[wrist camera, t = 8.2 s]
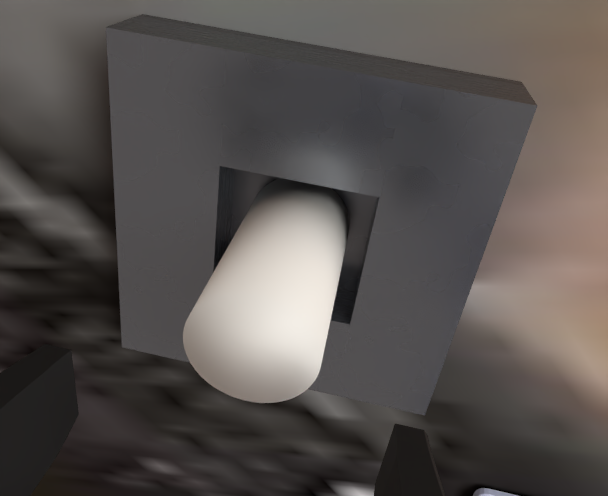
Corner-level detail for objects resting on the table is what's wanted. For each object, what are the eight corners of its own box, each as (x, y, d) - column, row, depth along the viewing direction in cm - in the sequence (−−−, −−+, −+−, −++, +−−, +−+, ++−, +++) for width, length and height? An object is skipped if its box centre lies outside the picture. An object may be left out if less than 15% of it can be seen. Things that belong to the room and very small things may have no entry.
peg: (358, 188, 19) (333, 312, 13) (339, 273, 21) (309, 416, 15) (256, 166, 19) (185, 278, 13) (246, 253, 21) (180, 384, 15)
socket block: (521, 82, 17) (537, 105, 15) (423, 369, 23) (424, 415, 21) (142, 14, 18) (105, 27, 16) (147, 309, 24) (122, 347, 22)
